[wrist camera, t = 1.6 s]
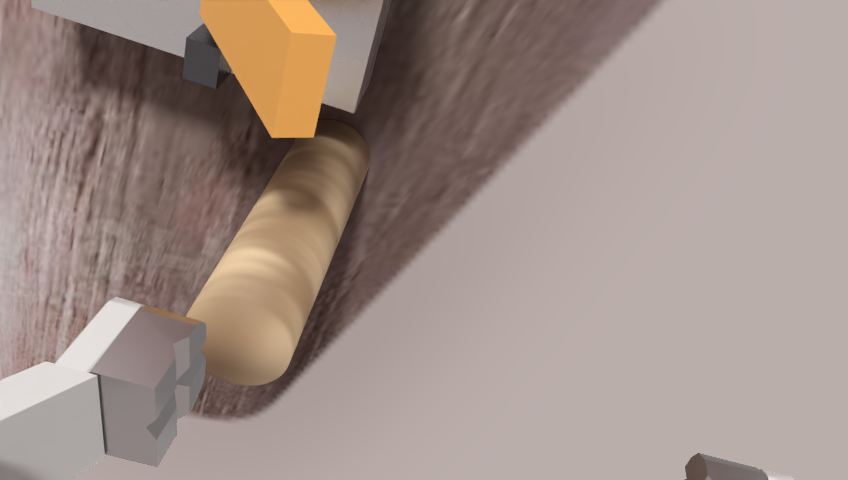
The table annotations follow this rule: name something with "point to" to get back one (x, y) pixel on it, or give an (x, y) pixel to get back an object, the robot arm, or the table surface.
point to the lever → (275, 58)
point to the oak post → (281, 257)
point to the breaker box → (203, 60)
